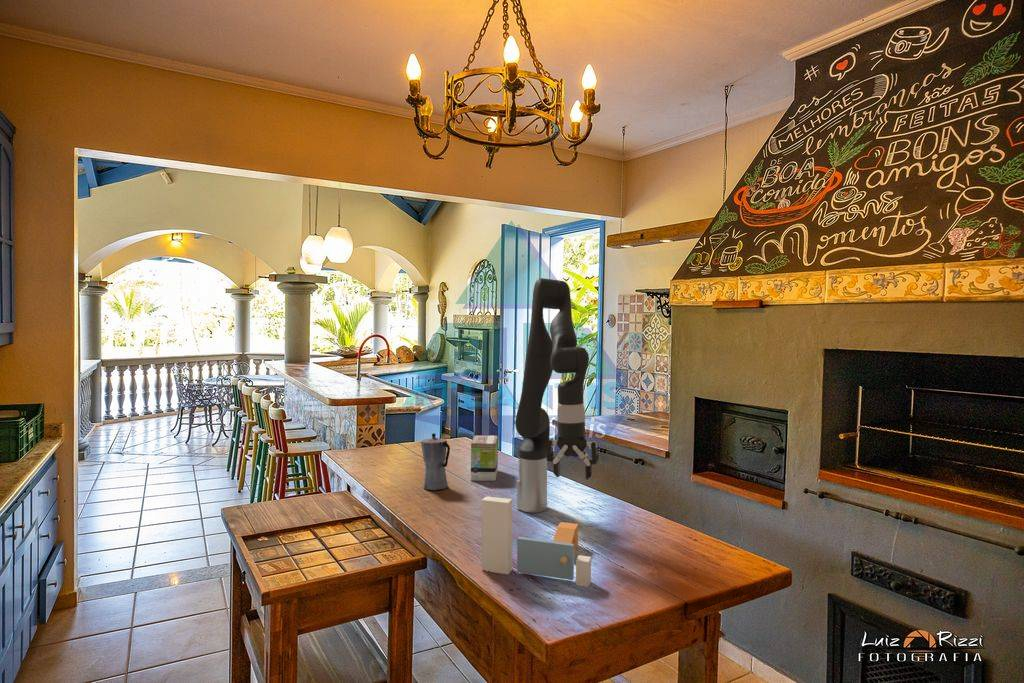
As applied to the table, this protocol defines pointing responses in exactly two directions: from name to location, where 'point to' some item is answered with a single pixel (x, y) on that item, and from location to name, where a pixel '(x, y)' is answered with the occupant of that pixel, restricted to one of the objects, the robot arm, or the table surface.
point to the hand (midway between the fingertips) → (572, 477)
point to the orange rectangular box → (567, 534)
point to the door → (545, 558)
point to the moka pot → (435, 462)
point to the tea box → (484, 458)
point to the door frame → (500, 540)
